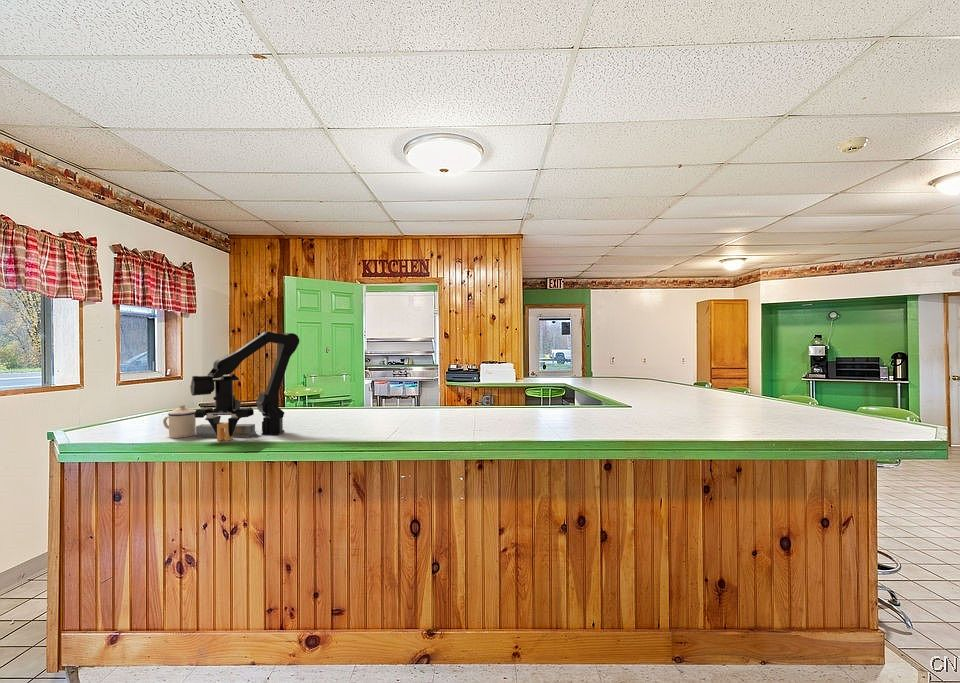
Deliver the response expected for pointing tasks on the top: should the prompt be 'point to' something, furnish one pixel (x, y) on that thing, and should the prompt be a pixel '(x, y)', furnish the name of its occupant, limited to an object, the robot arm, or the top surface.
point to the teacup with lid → (181, 422)
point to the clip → (223, 431)
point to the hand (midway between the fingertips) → (224, 436)
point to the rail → (239, 431)
